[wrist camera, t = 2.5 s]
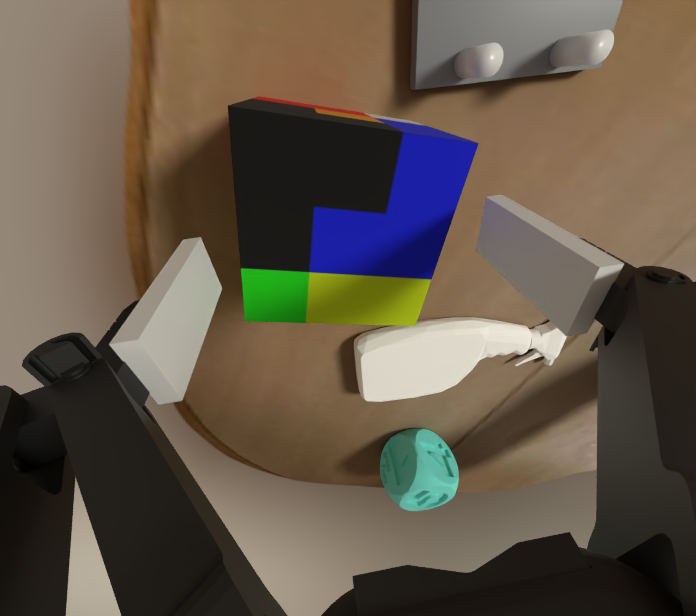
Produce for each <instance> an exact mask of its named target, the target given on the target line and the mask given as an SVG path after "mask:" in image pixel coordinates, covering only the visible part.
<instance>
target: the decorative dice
mask: <svg viewBox="0 0 696 616" xmlns="http://www.w3.org/2000/svg"><path fill="white" fill-rule="evenodd" d="M380 474H381V479H382V482H383V485H384V487H385V489H386V491H387V493H388V494H389V496H390V497H391V498H392V500H393V501H394V502H395V503H396V504H397V505H399V506H400V507H401V508H403V509H405V510H409V511H421V510H427V509H431V508H434V507H438V506H440V505H442V504H444V503H446V502H448V501H449V500H451V499H452V498H453V497H454V495H455V493H456V490H457V486H458V480H459V471H458V466H457V462H456V460H455V458H454V455H453V454H452V452H451V450H450V449H449V447H448V446H447V444H446V443H445V442H444V441H443V440H442V439H441V438H440V437H439V436H438V435H437V434H435V433H434V432H432V431H430V430H427V429H422V428H414V429H408V430H404V431H402V432H399V433H397V434H395V435H394V436H392V437H391V438H390V439H389V440H388V442H387V443H386V445H385V446H384V449H383V451H382V454H381V459H380Z"/></svg>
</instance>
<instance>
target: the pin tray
mask: <svg viewBox="0 0 696 616" xmlns="http://www.w3.org/2000/svg"><path fill="white" fill-rule="evenodd" d="M622 3H623V0H412V31H411V69H410V90H419V89H428V88H436V87H444V86H453V85H461V84H469V83H477V82H486V81H494V80H502V79H511V78H519V77H527V76H536V75H544V74H552V73H561V72H569V71H577V70H586V69H594V68H601V67H602V64H603V61H604V59H605V58H606V57H607V56H608V54H609V53H610V51H611V49H612V46H613V43H614V35H613V30H614V27H615V24H616V21H617V18H618V15H619V12H620V9H621V6H622Z"/></svg>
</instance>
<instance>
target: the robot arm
mask: <svg viewBox="0 0 696 616" xmlns="http://www.w3.org/2000/svg"><path fill="white" fill-rule="evenodd" d="M476 251H477V252H478V253H479V254H480V255H481V256H483V257H484V258H485V259H486V260H487V261H488V262H489V263H490V264H491V265H492V266H493V267H494V268H495V269H496V270H497V271H498V272H499V273H500V274H501V275H502V276H503V277H504V278H506V279H507V280H508V281H509V282H510V283H511V284H512V285H513V286H514V287H515V288H516V289H517V290H518V291H519V292H520V293H521V294H522V295H523V296H524V297H525V298H526V299H528V300H529V301H530V302H531V303H532V304H533V305H534V306H535V307H536V308H537V309H538V310H539V311H540V312H541V313H542V314H543V315H544V316H545V317H546V318H547V319H548V320H550V321H551V322H552V323H553V324H554V325H555V326H556V327H557V328H558V329H559V330H560V331H561V332H562V333H563V334H564V335H565V336H571V335H577V334H583V333H587V332H588V330H589V328H590V326H591V325H592V323H593V321H594V319H596V320H597V321H598V322H599V323H601V324H602V325H603V327H602V328H601V330H600V332H599V334H598V335H597V337H596V339H595V341H594V342H593V344H592V346H591V348H590V350H589V351H594V349H595V348H597V347H598V415H597V511H596V523H595V527H594V530H593V532H592V535H591V537H590V540H589V543H588V547H587V549H584V548H580V547H578V545H577V544H576V542H575V541H574V539H573V537H572V535H571V534H570V532H568V533H563V534H558V535H553V536H548V537H543V538H539V539H533V540H528V541H524V542H519V543H517V544H515V545H513V546H512V547H511V548H509V549H507V550H506V551H504V552H503V553H501V554H500V555H498V556H497V557H495V558H493V559H492V560H490V561H489V562H488V563H486V564H484V565H483V566H481V567H480V568H478V569H476V570H475V571H473V572H470V573H462V572H454V571H447V570H440V569H432V568H425V567H418V566H411V565H405V566H400V567H395V568H390V569H386V570H380V571H375V572H370V573H365V574H360V575H356V576H353V584H354V588H353V589H352V590H350V591H348V592H347V593H345V594H344V595H342V596H341V597H340V598H339V599H337V600H336V602H334V603H333V604H332V605H331V606H330V607H329V608H328V609H327V610H326V611H325V612H324V613H323V614H322V615H321V616H696V282H692V280H691V279H690V278H689V277H687V276H686V275H684V274H682V273H680V272H677V271H674V270H672V269H667V268H663V267H656V266H643V267H639V268H635V267H633V266H632V265H630V264H628V263H626V262H624V261H623V260H621V259H619V258H617V257H615V256H614V255H612V254H610V253H608V252H606V253H605V250H603V249H601V248H599V247H596V245H594V244H592V243H590V242H588V241H587V240H585V239H582V238H579V237H576V236H575V235H573V234H571V233H569V232H568V231H566V230H564V229H562V228H560V227H559V226H557V225H555V224H553V223H552V222H550V221H548V220H546V219H544V218H543V217H541V216H539V215H537V214H536V213H534V212H532V211H530V210H528V209H527V208H525V207H523V206H521V205H520V204H518V203H516V202H514V201H512V200H511V199H509V198H507V197H505V196H504V195H496V196H489V197H486V201H485V206H484V211H483V216H482V222H481V227H480V232H479V238H478V243H477V248H476ZM221 291H222V287H221V284H220V282H219V279H218V277H217V275H216V272H215V270H214V268H213V265H212V263H211V261H210V258H209V256H208V253H207V251H206V249H205V246H204V244H203V242H202V239H201V237H198V238H191V239H184V240H182V242H181V243H180V245H179V246H178V247H177V249H176V250H175V252H174V253H173V255H172V256H171V257H170V259H169V260H168V262H167V263H166V264H165V266H164V267H163V269H162V270H161V271H160V273H159V274H158V276H157V277H156V279H155V280H154V281H153V283H152V284H151V286H150V287H149V288H148V290H147V291H146V293H145V294H144V295H143V297H142V298H141V300H138V301H135V302H133V303H132V304H131V305H129V306H128V307H127V308H126V309H124V310H123V311H122V313H121V314H120V315H119V317H118V318H117V319H116V322H114V323H113V325H112V326H111V328H110V330H108V331H107V333H106V334H105V335H104V337H103V338H102V339H101V341H100V342H99V344H98V345H97V346H96V347H94V346H93V345H92V344H91V343H90V341H89V340H88V339H87V338H86V337H85V336H84V335H83V334H81V333H68V334H64V335H60V336H57V337H55V338H52V339H50V340H48V341H46V342H45V343H43V344H41V345H39V346H38V347H36V348H35V349H34V350H33V351H31V352H30V353H29V354H28V355H27V356H26V357H25V359H24V360H23V363H22V366H23V367H24V368H25V369H26V370H27V371H28V372H29V373H30V374H31V375H33V376H34V377H35V378H36V379H37V380H38V381H40V382H41V383H42V384H43V385H44V387H42V388H39V389H36V390H33V391H31V392H28V393H25V394H22V395H19V394H18V393H17V392H15V391H14V390H13V389H12V388H10V387H8V386H0V616H65V615H66V602H67V588H68V574H69V558H70V545H71V531H72V516H73V501H74V487H75V476H76V479H77V482H78V485H79V488H80V491H81V495H82V498H83V501H84V503H85V507H86V509H87V513H88V516H89V519H90V522H91V524H92V528H93V531H94V534H95V537H96V540H97V543H98V546H99V549H100V552H101V555H102V558H103V561H104V564H105V567H106V570H107V573H108V576H109V579H110V582H111V585H112V588H113V591H114V594H115V597H116V600H117V604H118V607H119V609H120V613H121V616H287V615H286V613H285V612H284V610H283V609H282V608H281V606H280V605H279V604H278V603H277V601H276V600H275V599H274V597H273V596H272V595H271V594H270V592H269V591H268V590H267V588H266V587H265V585H264V584H263V583H262V581H261V579H260V578H259V576H258V575H257V574H256V572H255V570H254V569H253V567H252V566H251V564H250V563H249V561H248V560H247V558H246V557H245V555H244V554H243V552H242V551H241V549H240V548H239V546H238V545H237V543H236V542H235V540H234V539H233V537H232V535H231V534H230V532H229V531H228V529H227V528H226V526H225V525H224V523H223V522H222V520H221V519H220V517H219V516H218V514H217V513H216V511H215V510H214V508H213V507H212V505H211V504H210V502H209V500H208V499H207V497H206V496H205V494H204V493H203V491H202V490H201V488H200V487H199V485H198V484H197V482H196V481H195V479H194V478H193V476H192V475H191V473H190V472H189V470H188V469H187V467H186V465H185V464H184V463H183V461H182V459H181V458H180V456H179V455H178V453H177V452H176V450H175V449H174V447H173V446H172V444H171V443H170V441H169V440H168V438H167V437H166V435H165V434H164V432H163V431H162V429H161V428H160V426H159V425H158V423H157V421H156V420H155V418H154V417H153V415H152V414H151V412H150V411H149V410H148V408H147V407H146V406H145V405H144V404H145V401H146V400H147V397H148V395H149V394H150V395H151V396H152V398H153V399H154V400H155V401H156V403H157V404H158V405H160V404H166V403H172V402H178V401H182V400H183V397H184V395H185V392H186V389H187V386H188V383H189V381H190V378H191V375H192V372H193V369H194V367H195V364H196V361H197V358H198V355H199V353H200V350H201V347H202V344H203V341H204V339H205V336H206V333H207V330H208V327H209V324H210V322H211V319H212V316H213V313H214V310H215V308H216V305H217V302H218V299H219V296H220V294H221Z"/></svg>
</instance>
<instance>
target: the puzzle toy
mask: <svg viewBox="0 0 696 616" xmlns="http://www.w3.org/2000/svg"><path fill="white" fill-rule="evenodd" d="M228 113H229V126H230V138H231V151H232V164H233V176H234V189H235V201H236V214H237V226H238V239H239V251H240V264H241V276H242V289H243V301H244V314H245V321H257V322H292V323H327V324H362V325H397V326H415V325H416V322H417V319H418V317H419V314H420V311H421V308H422V305H423V302H424V299H425V296H426V294H427V291H428V288H429V285H430V282H431V279H432V276H433V273H434V270H435V268H436V265H437V262H438V259H439V256H440V253H441V250H442V247H443V244H444V242H445V239H446V236H447V233H448V230H449V227H450V224H451V221H452V218H453V216H454V213H455V210H456V207H457V204H458V201H459V198H460V195H461V192H462V190H463V187H464V184H465V181H466V178H467V175H468V172H469V169H470V166H471V164H472V161H473V158H474V155H475V152H476V149H477V146H478V143H476V142H473V141H470V140H467V139H464V138H461V137H458V136H455V135H452V134H449V133H446V132H443V131H440V130H437V129H434V128H431V127H428V126H425V125H422V124H419V123H416V122H413V121H410V120H404V119H398V118H392V117H385V116H379V115H373V114H366V113H360V112H354V111H347V110H341V109H335V108H328V107H322V106H316V105H309V104H303V103H297V102H291V101H284V100H278V99H272V98H265V97H256V98H252V99H249V100H245V101H242V102H239V103H235V104H232V105H228Z"/></svg>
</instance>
